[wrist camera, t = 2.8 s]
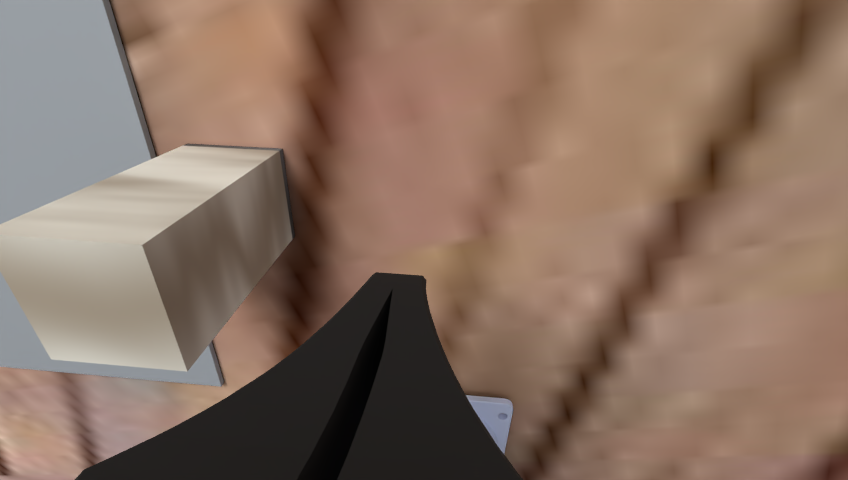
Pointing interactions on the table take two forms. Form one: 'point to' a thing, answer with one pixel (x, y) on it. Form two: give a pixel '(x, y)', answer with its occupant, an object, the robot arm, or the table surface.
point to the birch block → (150, 255)
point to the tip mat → (67, 144)
